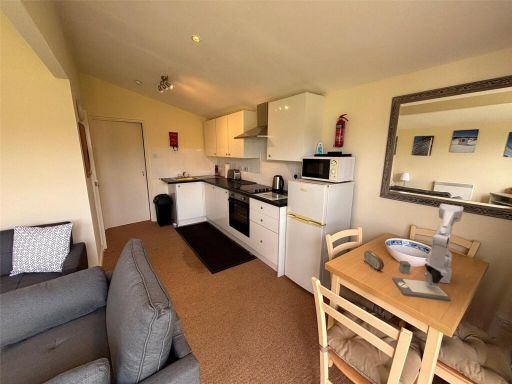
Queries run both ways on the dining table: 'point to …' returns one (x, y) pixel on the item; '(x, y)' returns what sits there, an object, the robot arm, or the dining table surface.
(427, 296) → the scale
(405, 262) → the block
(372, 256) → the tin
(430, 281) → the block
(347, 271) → the dining table surface
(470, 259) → the dining table surface
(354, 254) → the dining table surface
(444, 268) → the robot arm
